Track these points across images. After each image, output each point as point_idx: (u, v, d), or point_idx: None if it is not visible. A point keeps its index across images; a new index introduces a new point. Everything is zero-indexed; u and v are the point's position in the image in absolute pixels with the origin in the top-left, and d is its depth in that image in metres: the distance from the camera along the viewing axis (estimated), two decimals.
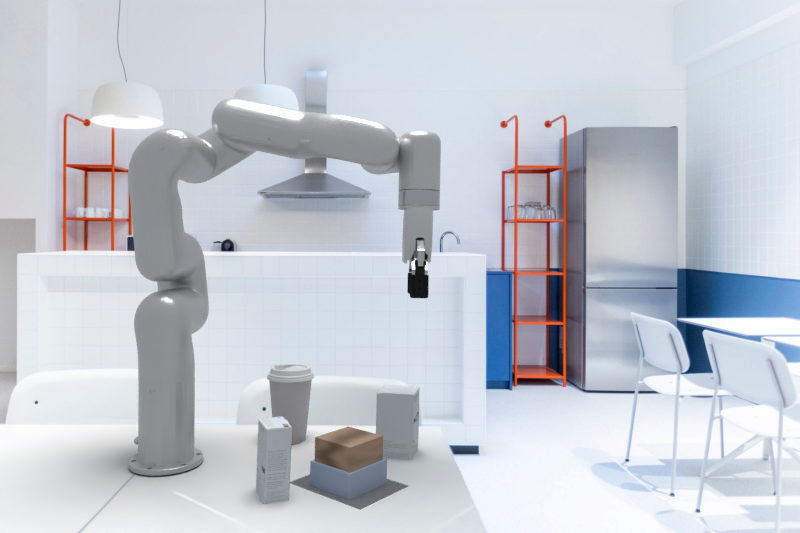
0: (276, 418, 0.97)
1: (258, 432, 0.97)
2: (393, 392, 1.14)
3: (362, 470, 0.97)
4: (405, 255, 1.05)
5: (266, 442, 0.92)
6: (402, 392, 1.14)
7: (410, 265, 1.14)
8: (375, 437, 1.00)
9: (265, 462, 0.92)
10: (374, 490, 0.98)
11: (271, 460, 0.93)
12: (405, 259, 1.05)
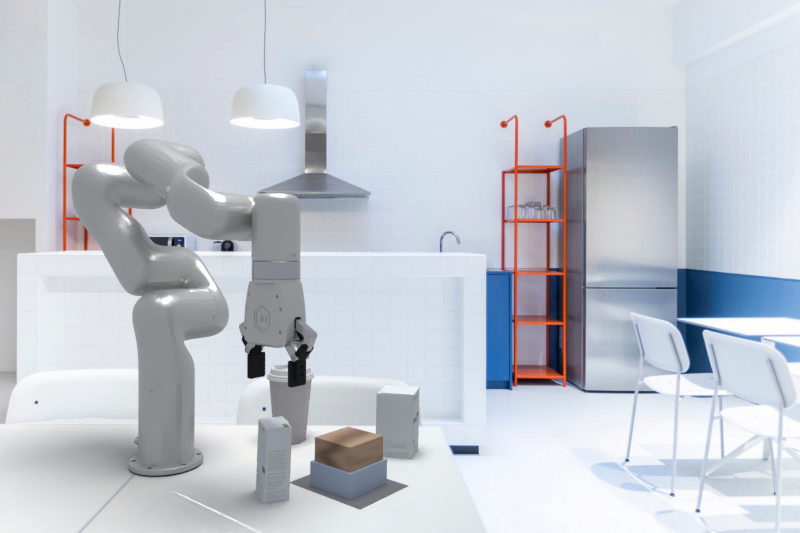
0: (276, 418, 0.97)
1: (258, 432, 0.97)
2: (393, 392, 1.14)
3: (362, 470, 0.97)
4: (284, 339, 0.90)
5: (266, 442, 0.92)
6: (402, 392, 1.14)
7: (253, 345, 0.97)
8: (375, 437, 1.00)
9: (265, 462, 0.92)
10: (374, 490, 0.98)
11: (271, 460, 0.93)
12: (283, 343, 0.90)
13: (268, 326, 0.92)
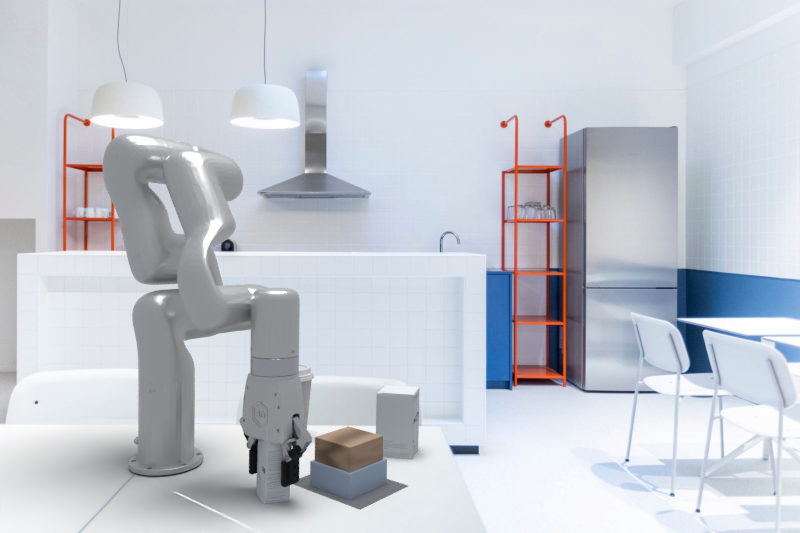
0: None
1: None
2: (393, 392, 1.14)
3: (362, 470, 0.97)
4: (282, 437, 0.91)
5: (266, 442, 0.92)
6: (402, 392, 1.14)
7: (254, 439, 0.97)
8: (375, 437, 1.00)
9: (265, 462, 0.92)
10: (374, 490, 0.98)
11: (271, 460, 0.93)
12: (281, 442, 0.91)
13: (266, 422, 0.92)
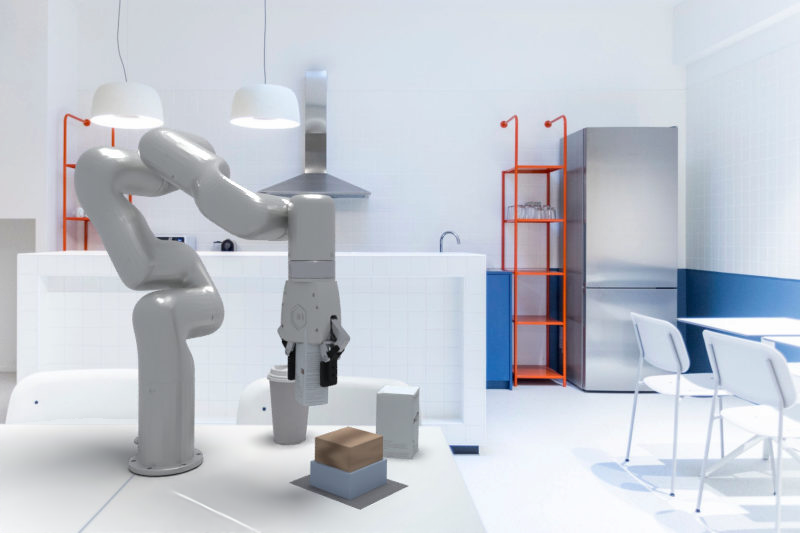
0: None
1: None
2: (393, 392, 1.14)
3: (362, 470, 0.97)
4: (320, 336, 0.92)
5: (305, 343, 0.94)
6: (402, 392, 1.14)
7: (293, 345, 0.98)
8: (375, 437, 1.00)
9: (304, 363, 0.94)
10: (374, 490, 0.98)
11: (310, 361, 0.94)
12: (320, 341, 0.92)
13: (305, 324, 0.94)
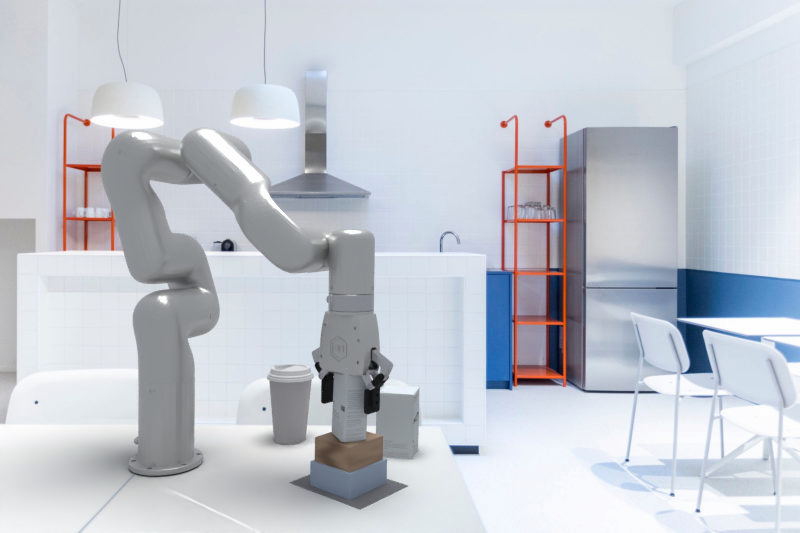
0: None
1: (334, 375, 1.02)
2: (393, 392, 1.14)
3: (362, 470, 0.97)
4: (361, 369, 0.95)
5: (346, 382, 0.97)
6: (402, 392, 1.14)
7: (327, 372, 1.02)
8: (375, 437, 1.00)
9: (345, 401, 0.97)
10: (374, 490, 0.98)
11: (350, 399, 0.97)
12: (361, 373, 0.95)
13: (345, 356, 0.97)
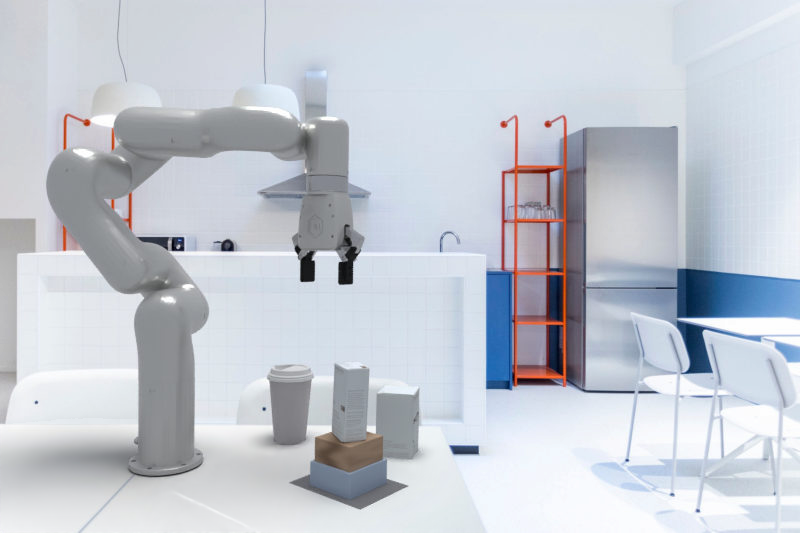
0: (351, 362, 1.02)
1: (334, 375, 1.02)
2: (393, 392, 1.14)
3: (362, 470, 0.97)
4: (335, 242, 1.04)
5: (346, 382, 0.97)
6: (402, 392, 1.14)
7: (306, 252, 1.11)
8: (375, 437, 1.00)
9: (345, 401, 0.97)
10: (374, 490, 0.98)
11: (350, 399, 0.97)
12: (335, 246, 1.04)
13: (321, 232, 1.06)
